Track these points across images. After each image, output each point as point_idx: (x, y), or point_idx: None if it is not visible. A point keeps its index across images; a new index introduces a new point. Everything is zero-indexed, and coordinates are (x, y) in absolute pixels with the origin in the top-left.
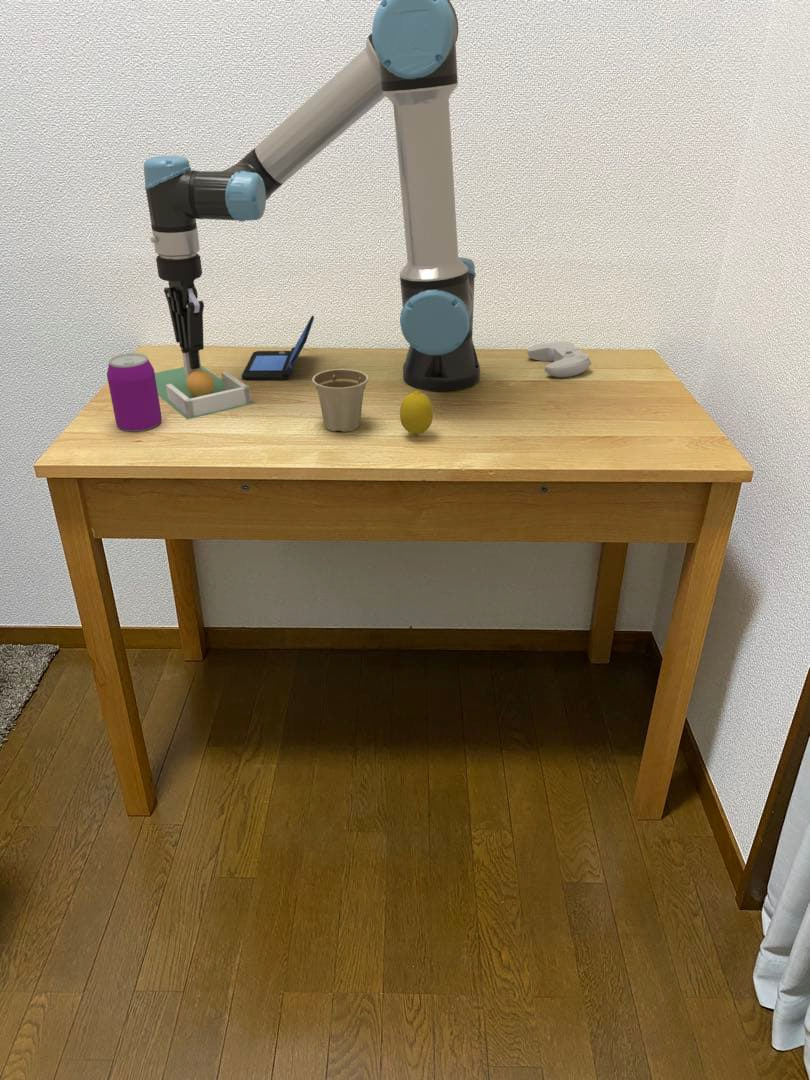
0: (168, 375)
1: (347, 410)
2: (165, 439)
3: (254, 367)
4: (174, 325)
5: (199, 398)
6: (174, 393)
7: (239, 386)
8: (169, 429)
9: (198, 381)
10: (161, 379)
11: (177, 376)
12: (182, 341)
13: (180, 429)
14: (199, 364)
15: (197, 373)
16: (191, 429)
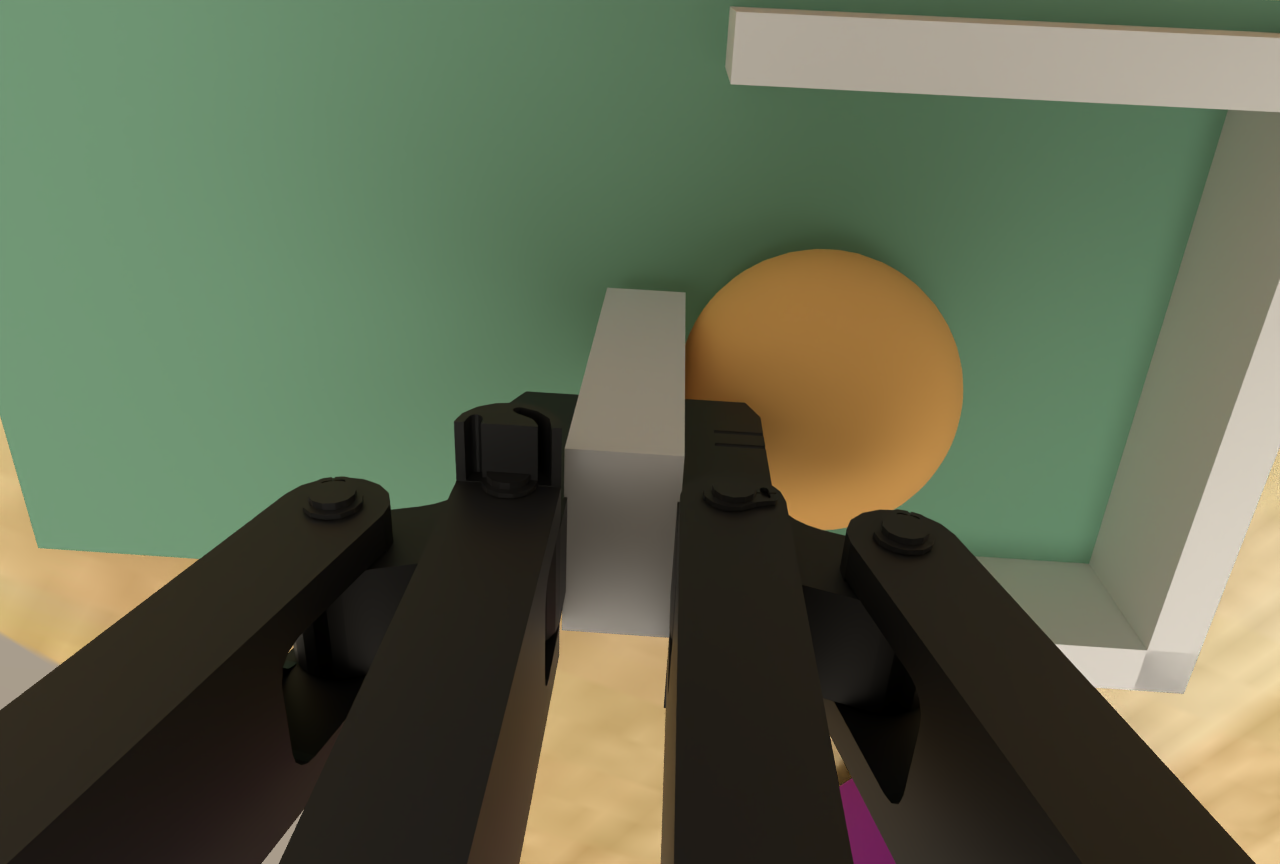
0: (112, 344)
1: None
2: (1263, 808)
3: None
4: (243, 860)
5: (1215, 592)
6: None
7: (1255, 110)
8: (1146, 738)
9: (927, 480)
10: (190, 429)
11: (173, 291)
12: (547, 692)
13: (1208, 693)
14: (759, 423)
15: (872, 483)
16: (1275, 646)
